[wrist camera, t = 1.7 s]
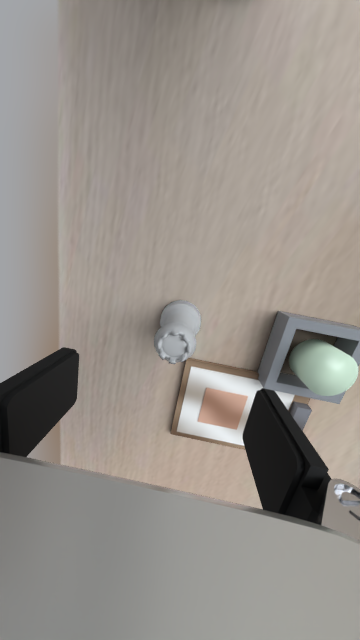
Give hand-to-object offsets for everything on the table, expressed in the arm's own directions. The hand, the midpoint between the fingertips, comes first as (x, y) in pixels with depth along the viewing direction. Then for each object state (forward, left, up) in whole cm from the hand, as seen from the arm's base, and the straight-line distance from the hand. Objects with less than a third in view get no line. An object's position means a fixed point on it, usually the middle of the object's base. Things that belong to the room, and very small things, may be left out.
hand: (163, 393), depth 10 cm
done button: (0, +14, -10) cm, 18 cm away
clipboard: (+9, +9, -12) cm, 18 cm away
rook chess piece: (-1, 0, -12) cm, 12 cm away
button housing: (0, +14, -12) cm, 19 cm away
